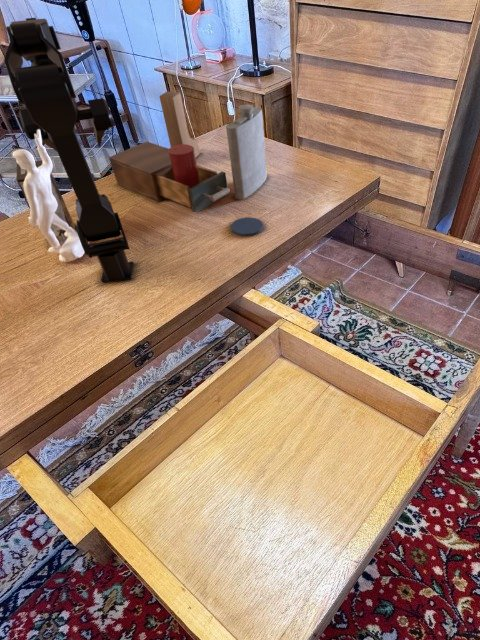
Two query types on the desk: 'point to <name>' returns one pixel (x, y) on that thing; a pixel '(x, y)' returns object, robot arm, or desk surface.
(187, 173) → the can
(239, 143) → the hip flask
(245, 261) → the desk surface
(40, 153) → the figurine
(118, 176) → the cabinet
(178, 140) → the wooden block
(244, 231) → the mat
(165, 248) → the desk surface
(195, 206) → the drawer
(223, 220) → the desk surface
